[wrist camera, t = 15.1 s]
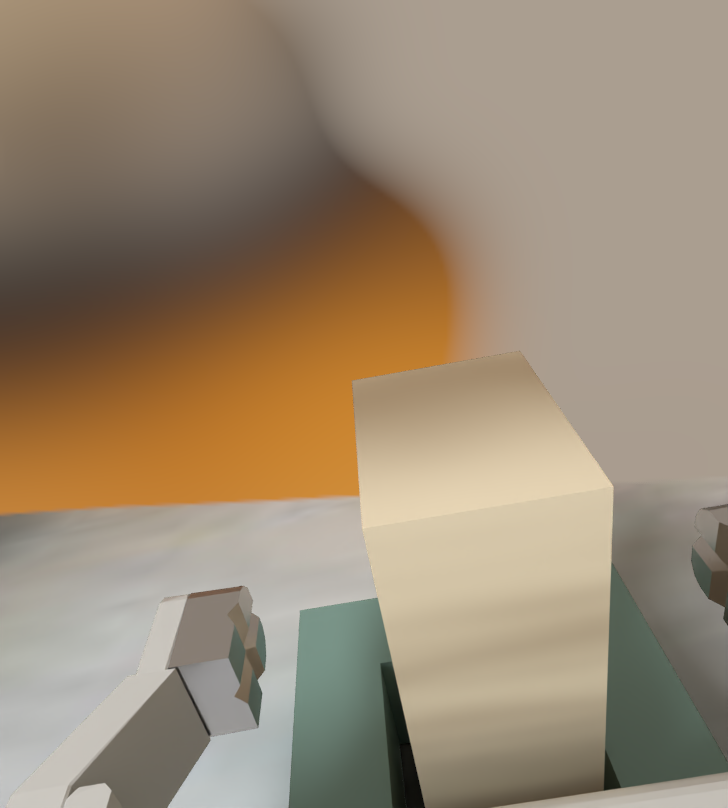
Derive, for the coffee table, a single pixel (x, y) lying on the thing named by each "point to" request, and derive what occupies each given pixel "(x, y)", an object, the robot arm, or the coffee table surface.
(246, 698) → the robot arm
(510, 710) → the light wooden block
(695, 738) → the sage square frame
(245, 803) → the coffee table surface
